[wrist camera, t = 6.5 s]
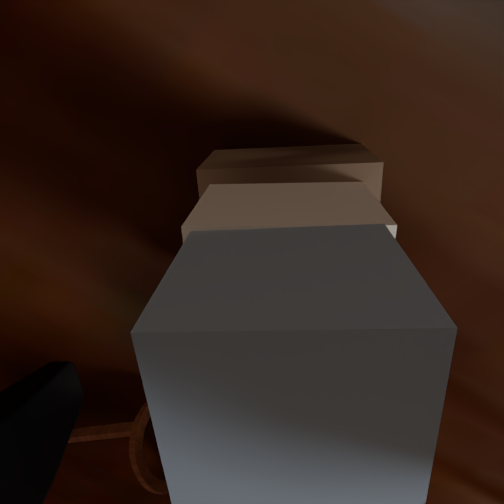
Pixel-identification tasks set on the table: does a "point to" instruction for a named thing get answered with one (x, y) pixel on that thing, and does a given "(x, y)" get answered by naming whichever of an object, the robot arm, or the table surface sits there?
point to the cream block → (286, 206)
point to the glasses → (135, 446)
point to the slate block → (295, 368)
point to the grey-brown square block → (292, 166)
